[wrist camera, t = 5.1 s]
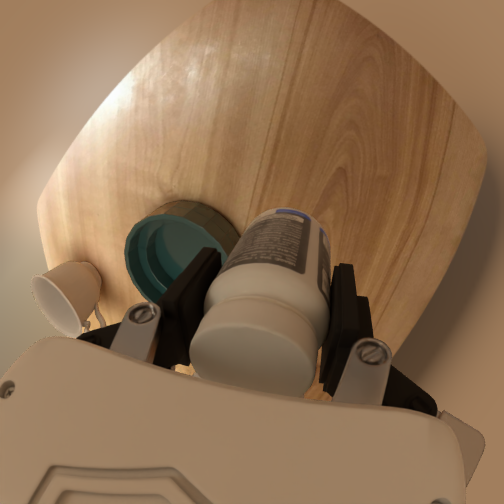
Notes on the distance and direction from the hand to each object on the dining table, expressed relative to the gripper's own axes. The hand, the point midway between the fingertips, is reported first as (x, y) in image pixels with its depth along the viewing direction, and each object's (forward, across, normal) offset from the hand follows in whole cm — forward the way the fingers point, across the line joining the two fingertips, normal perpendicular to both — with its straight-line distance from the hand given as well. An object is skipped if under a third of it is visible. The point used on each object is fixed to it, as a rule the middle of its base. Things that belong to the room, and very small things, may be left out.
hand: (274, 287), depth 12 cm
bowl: (+19, +13, +10) cm, 25 cm away
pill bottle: (+4, 0, 0) cm, 4 cm away
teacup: (+19, +33, +18) cm, 42 cm away
